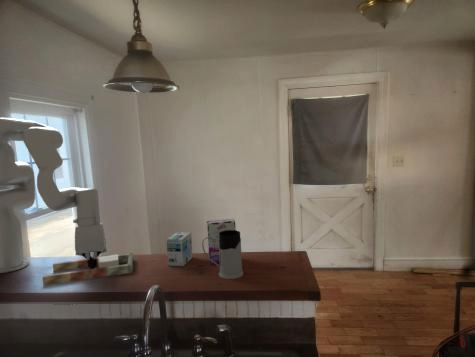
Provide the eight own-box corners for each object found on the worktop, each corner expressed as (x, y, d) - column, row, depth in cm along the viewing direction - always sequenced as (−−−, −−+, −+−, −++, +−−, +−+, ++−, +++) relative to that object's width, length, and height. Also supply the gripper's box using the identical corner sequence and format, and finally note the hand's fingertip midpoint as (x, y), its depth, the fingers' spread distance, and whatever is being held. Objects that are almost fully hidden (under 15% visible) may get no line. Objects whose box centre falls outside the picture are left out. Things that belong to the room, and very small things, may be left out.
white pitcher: (243, 278, 104) (242, 235, 103) (202, 279, 104) (200, 237, 103) (242, 268, 113) (241, 229, 112) (204, 270, 113) (203, 230, 112)
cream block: (99, 273, 114) (98, 262, 114) (99, 266, 120) (99, 257, 120) (119, 269, 117) (118, 259, 116) (118, 263, 123) (118, 254, 123)
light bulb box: (183, 266, 117) (182, 239, 116) (167, 266, 118) (165, 239, 117) (193, 257, 127) (191, 232, 127) (178, 256, 129) (176, 231, 128)
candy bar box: (235, 257, 125) (233, 218, 124) (237, 261, 121) (235, 220, 119) (208, 260, 123) (206, 220, 122) (209, 264, 118) (207, 223, 117)
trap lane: (43, 285, 104) (42, 277, 104) (54, 270, 118) (53, 263, 117) (132, 272, 113) (131, 264, 113) (133, 260, 126) (132, 253, 126)
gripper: (64, 225, 108) (68, 275, 109) (109, 221, 112) (113, 269, 114) (69, 221, 115) (73, 267, 117) (111, 217, 119) (114, 262, 121)
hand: (92, 268), depth 115 cm, fingers closed
